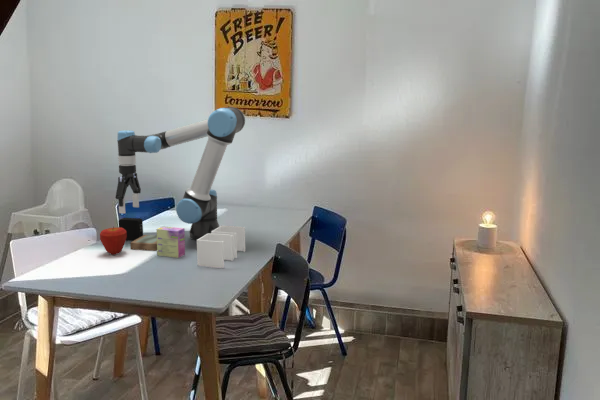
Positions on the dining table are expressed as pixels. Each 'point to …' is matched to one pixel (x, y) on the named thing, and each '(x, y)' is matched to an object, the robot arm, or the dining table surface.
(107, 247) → the apple
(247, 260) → the dining table surface
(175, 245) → the box
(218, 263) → the white folding screen
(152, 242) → the wooden tray
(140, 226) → the electronic device
